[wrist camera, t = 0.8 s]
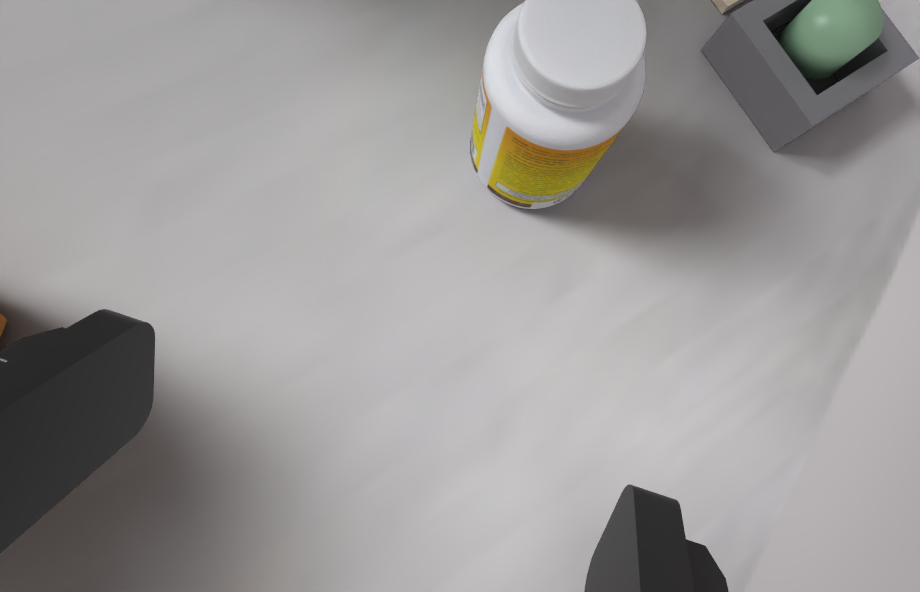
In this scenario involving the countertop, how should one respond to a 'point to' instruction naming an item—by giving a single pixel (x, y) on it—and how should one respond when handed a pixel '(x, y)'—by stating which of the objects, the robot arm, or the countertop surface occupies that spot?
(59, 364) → the robot arm
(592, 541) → the countertop surface
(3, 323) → the coffee package
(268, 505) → the countertop surface
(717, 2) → the pad
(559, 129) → the supplement bottle
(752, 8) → the button housing
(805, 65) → the button
